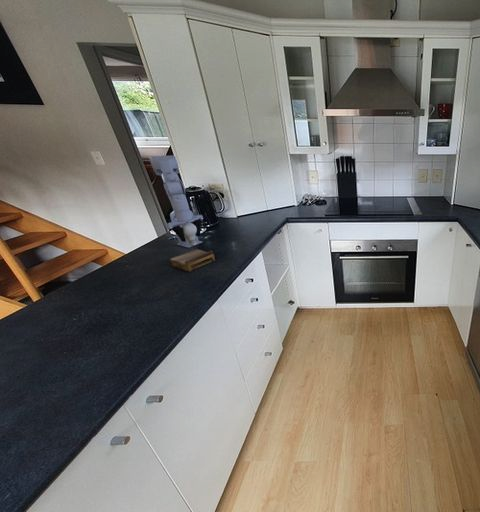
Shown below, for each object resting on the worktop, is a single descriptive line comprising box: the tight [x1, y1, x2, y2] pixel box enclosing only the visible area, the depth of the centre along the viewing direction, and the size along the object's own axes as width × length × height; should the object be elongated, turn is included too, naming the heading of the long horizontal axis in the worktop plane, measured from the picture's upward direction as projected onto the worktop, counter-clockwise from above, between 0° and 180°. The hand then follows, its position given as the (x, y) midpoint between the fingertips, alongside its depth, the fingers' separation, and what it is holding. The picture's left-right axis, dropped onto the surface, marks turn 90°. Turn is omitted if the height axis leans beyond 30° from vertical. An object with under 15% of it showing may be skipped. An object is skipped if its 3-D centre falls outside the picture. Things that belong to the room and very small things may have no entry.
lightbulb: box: [180, 223, 198, 247], centre depth 122 cm, size 6×6×11 cm
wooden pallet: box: [170, 248, 216, 273], centre depth 123 cm, size 12×12×5 cm
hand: (191, 238), depth 123 cm, fingers closed on lightbulb, 6 cm apart
